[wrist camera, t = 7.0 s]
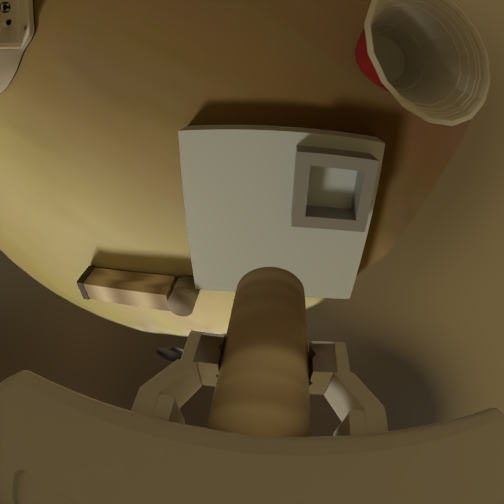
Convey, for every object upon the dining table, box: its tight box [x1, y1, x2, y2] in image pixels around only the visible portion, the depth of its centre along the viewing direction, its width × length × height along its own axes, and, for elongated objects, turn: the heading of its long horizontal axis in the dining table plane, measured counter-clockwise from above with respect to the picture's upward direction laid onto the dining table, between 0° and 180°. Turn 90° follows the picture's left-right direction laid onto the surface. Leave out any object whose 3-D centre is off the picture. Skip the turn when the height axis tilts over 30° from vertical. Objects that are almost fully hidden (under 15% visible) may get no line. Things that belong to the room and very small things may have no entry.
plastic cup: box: [355, 0, 490, 126], centre depth 16 cm, size 11×11×12 cm
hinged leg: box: [77, 266, 200, 316], centre depth 39 cm, size 19×4×4 cm, turn 89°
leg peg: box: [207, 267, 310, 437], centre depth 11 cm, size 4×4×10 cm
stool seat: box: [178, 125, 385, 299], centre depth 30 cm, size 20×20×6 cm
